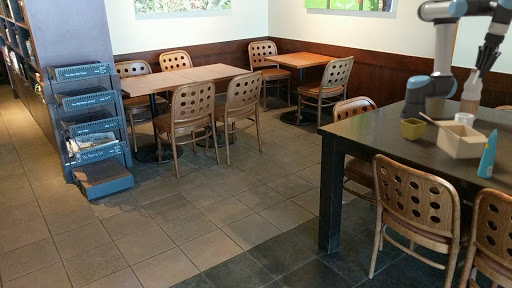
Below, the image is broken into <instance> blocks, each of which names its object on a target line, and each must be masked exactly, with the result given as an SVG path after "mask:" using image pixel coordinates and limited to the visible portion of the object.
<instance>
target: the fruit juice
mask: <svg viewBox="0 0 512 288" xmlns="http://www.w3.org/2000/svg"><path fill="white" fill-rule="evenodd" d="M476 72H477V68H475V69H473V68H472V69H471V70H470V75H469V77H468V78H467V80H466V81H465V82H464V84H463V92H462V93H461V97H460V103H459V107H458V111H457V113H468V114H472V115H474V121H476V120H477V115H478V113H479V111H478V110H479V107H480V101H481V98H482V95H481V94H482V93H481V92H482V89H483V82H482V81H481V82H480V85H475V84H472V83H473V81H474V78H475V74H476Z"/></svg>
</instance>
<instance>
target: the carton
mask: <svg viewBox="0 0 512 288" xmlns="http://www.w3.org/2000/svg"><path fill="white" fill-rule="evenodd" d="M434 121H435V122H436V123H438V124H439V125H441V126H442V127H444V128H445V129H447V130H448V131H450V132H451V133H453V134H454V135H452V134H450V133H449V132H447V131H445V130H444V129H442V128H441V127H438V132H437V133H438V134H437V140H436V144H435V145H436V146H437V148H439V149H441V150H442V151H443V152H444V153H446V154H448V155H449V156H450V157H451V158H453V159H454V160H465V159H481V158H482V155H483V152H484V148H485V144H486V143H487V141H488V138H489V137H487V136H486V135H484V134H483V133H481V132H479V131H477V130H475V129H474V128H473V127H472V128H470V127H468V126H466V125H465V124H461V123H459V122H458V121H456V120H455V119H452V120H434Z"/></svg>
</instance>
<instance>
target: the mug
mask: <svg viewBox="0 0 512 288" xmlns="http://www.w3.org/2000/svg"><path fill="white" fill-rule="evenodd" d="M454 115H455V116H454V120H456V121H458V122H459V123H461V124H465V125H466V126H468V127H470V128H472V129H473V125H474V124H473V123H474V121H475V120H474V115H472V114H468V113H458V112H457V113H455V114H454Z"/></svg>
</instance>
